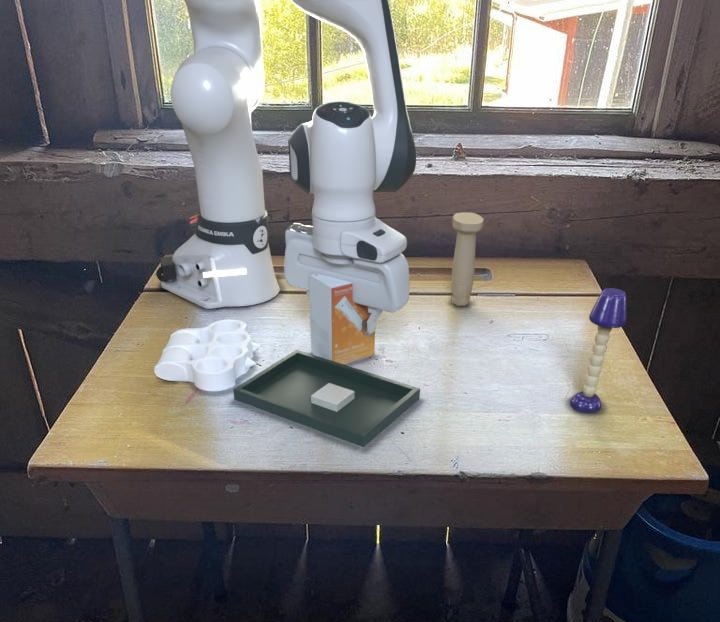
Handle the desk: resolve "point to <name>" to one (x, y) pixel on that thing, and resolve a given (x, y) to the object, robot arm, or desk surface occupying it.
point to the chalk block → (332, 397)
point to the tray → (308, 375)
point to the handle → (464, 256)
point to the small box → (337, 321)
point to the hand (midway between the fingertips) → (344, 324)
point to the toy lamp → (600, 345)
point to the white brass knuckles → (208, 355)
